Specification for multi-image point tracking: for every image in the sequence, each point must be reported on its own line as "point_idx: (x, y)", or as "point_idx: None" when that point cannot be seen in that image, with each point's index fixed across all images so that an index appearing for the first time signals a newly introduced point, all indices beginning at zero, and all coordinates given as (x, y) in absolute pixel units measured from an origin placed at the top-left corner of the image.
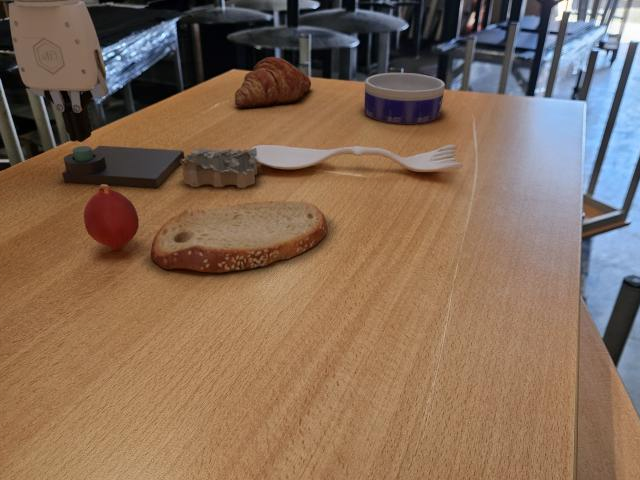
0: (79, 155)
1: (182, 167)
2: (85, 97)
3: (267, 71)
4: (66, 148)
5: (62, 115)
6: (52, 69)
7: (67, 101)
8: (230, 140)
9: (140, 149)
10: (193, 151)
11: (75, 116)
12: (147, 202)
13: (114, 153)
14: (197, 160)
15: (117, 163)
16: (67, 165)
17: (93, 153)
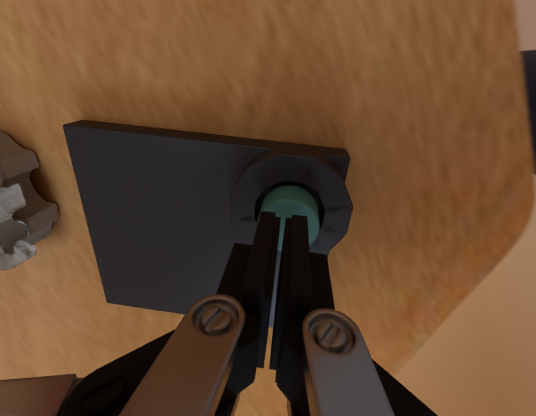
0: (288, 193)
1: (16, 184)
2: (113, 384)
3: None
4: (400, 346)
5: (333, 306)
6: None
7: (302, 395)
8: (86, 365)
9: None
10: (22, 260)
11: (244, 279)
12: (50, 9)
13: None
14: (31, 243)
15: (217, 228)
16: (329, 165)
17: None
